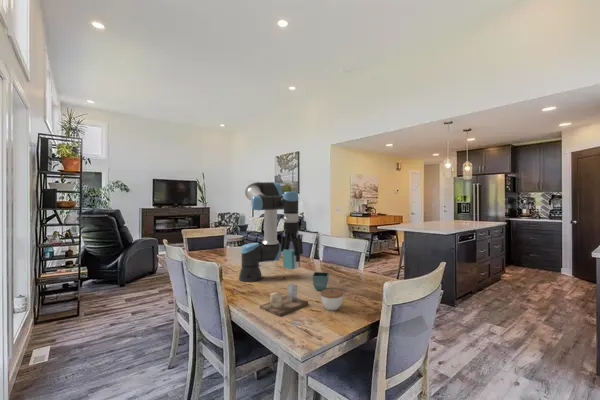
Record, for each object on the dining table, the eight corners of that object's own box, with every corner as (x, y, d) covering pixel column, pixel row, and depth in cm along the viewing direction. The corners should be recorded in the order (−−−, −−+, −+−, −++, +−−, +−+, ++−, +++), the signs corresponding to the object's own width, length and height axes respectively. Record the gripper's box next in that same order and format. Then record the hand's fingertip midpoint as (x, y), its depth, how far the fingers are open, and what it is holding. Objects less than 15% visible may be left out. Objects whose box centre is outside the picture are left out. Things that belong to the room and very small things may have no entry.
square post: (287, 303, 149) (286, 285, 149) (292, 301, 152) (291, 283, 152) (292, 305, 147) (291, 286, 147) (297, 303, 150) (296, 284, 150)
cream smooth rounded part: (268, 309, 141) (267, 294, 141) (276, 306, 145) (276, 291, 145) (276, 312, 138) (275, 297, 137) (284, 309, 142) (284, 294, 142)
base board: (259, 308, 143) (259, 305, 143) (288, 298, 158) (288, 295, 158) (279, 316, 133) (279, 313, 133) (308, 304, 148) (308, 301, 148)
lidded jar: (319, 304, 148) (319, 286, 148) (340, 303, 149) (340, 285, 149) (322, 312, 137) (322, 292, 137) (345, 311, 138) (345, 292, 138)
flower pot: (327, 292, 167) (327, 276, 167) (312, 291, 168) (312, 275, 168) (329, 287, 175) (328, 272, 175) (314, 286, 177) (314, 271, 177)
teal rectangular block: (283, 267, 149) (282, 249, 149) (291, 265, 154) (291, 248, 154) (291, 269, 145) (291, 251, 145) (300, 267, 150) (300, 249, 149)
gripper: (273, 221, 153) (273, 265, 153) (300, 223, 140) (300, 271, 140) (283, 220, 158) (283, 262, 159) (310, 222, 145) (310, 268, 146)
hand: (291, 266), depth 149 cm, fingers closed on teal rectangular block, 6 cm apart
